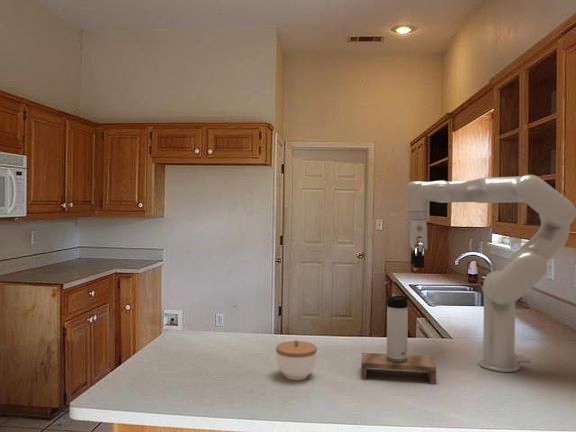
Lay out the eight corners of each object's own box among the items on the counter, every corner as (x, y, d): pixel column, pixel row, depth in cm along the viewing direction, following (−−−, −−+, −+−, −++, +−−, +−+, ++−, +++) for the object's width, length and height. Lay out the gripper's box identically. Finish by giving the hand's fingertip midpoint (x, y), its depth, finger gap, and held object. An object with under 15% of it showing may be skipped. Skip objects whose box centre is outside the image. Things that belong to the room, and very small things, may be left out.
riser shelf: (431, 372, 146) (431, 356, 146) (435, 383, 136) (436, 367, 136) (361, 367, 150) (361, 352, 150) (361, 378, 140) (361, 362, 140)
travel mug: (409, 363, 139) (409, 298, 139) (386, 362, 140) (387, 297, 140) (407, 357, 145) (408, 294, 145) (386, 355, 147) (387, 293, 146)
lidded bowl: (287, 386, 134) (287, 348, 133) (269, 372, 145) (269, 338, 145) (324, 379, 139) (324, 343, 139) (303, 366, 151) (304, 333, 150)
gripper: (432, 217, 150) (432, 269, 151) (425, 216, 167) (425, 263, 168) (409, 217, 152) (408, 268, 152) (404, 216, 169) (404, 262, 169)
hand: (417, 265), depth 160 cm, fingers open, 9 cm apart
